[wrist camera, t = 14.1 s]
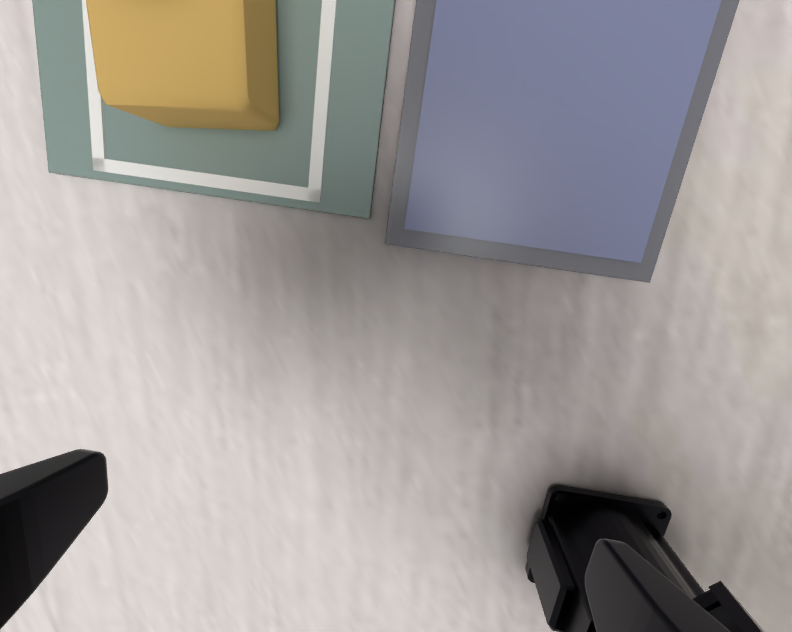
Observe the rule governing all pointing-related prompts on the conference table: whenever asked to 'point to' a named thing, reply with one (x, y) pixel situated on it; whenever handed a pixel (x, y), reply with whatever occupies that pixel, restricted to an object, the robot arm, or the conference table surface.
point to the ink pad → (552, 128)
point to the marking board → (229, 148)
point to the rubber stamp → (188, 61)
